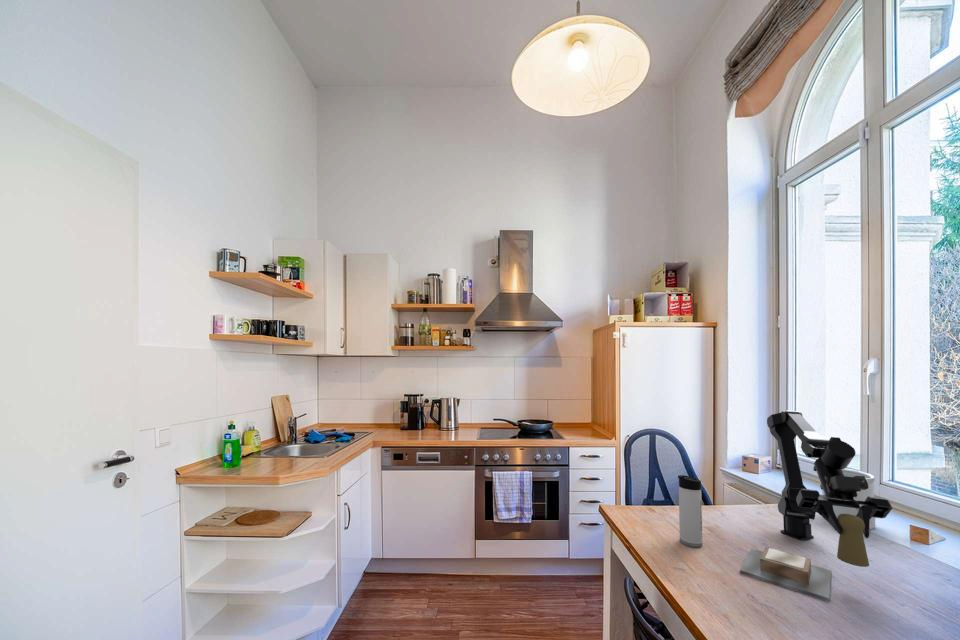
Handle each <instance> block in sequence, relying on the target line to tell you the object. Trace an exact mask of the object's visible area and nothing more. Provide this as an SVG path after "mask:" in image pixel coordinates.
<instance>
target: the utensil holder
mask: <svg viewBox="0 0 960 640" xmlns="http://www.w3.org/2000/svg"><path fill="white" fill-rule="evenodd" d="M842 471H843V474H844V476H846V477H854V476H856V475H857V476H864V477H865V478H866V480H867V483H868V489H866V490H861V491H858V492H857V497H854V500H857V501H865V500H866V499H867V497H868V496H870V497H875V484H874V482H875V481H876V480H875V476H874V475H873V474H871V473H868V472H866V471H865V472H864V471H860V470H857V469H856V470H855V469H852V468H845V469H842ZM821 493H822V494H821V495H825V493H824V490H823V489H821ZM833 510H834V513H835V515H836V517H837V518H838V516H839V515H840V514H850V515H854V516H856V515H857V513H858V512H857V510H856V508H849V507H841V506H833ZM875 528H876V518H875V517H872V518H871V519H870V522H869V530H873V529H875Z"/></svg>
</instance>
